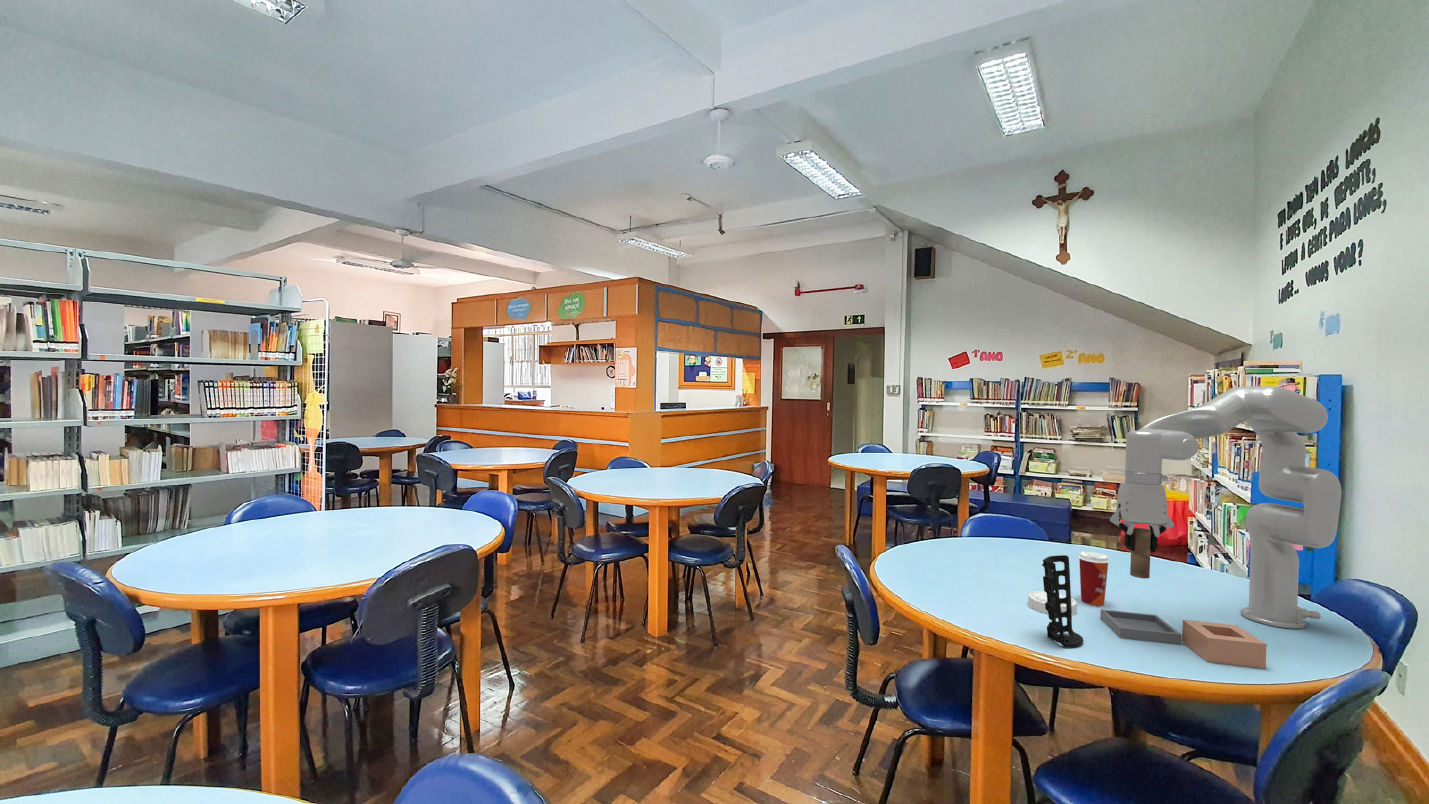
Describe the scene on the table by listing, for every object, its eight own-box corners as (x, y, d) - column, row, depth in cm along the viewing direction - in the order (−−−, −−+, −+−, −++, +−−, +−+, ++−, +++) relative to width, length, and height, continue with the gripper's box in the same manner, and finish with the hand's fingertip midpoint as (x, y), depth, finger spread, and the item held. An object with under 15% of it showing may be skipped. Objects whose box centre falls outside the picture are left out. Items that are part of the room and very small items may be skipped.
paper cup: (1107, 609, 163) (1108, 560, 163) (1075, 603, 168) (1076, 555, 168) (1109, 601, 169) (1110, 554, 169) (1078, 595, 174) (1079, 549, 174)
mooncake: (1081, 620, 156) (1082, 606, 156) (1031, 613, 160) (1032, 600, 160) (1071, 604, 167) (1071, 592, 167) (1024, 599, 171) (1024, 587, 171)
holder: (1083, 651, 135) (1076, 565, 136) (1046, 646, 139) (1039, 562, 140) (1083, 635, 144) (1076, 554, 145) (1048, 631, 148) (1041, 553, 149)
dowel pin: (1145, 574, 149) (1146, 528, 149) (1152, 579, 146) (1154, 531, 145) (1127, 572, 151) (1128, 527, 150) (1134, 577, 147) (1135, 530, 146)
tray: (1156, 624, 153) (1156, 615, 153) (1181, 644, 140) (1181, 634, 140) (1100, 618, 156) (1100, 609, 156) (1119, 637, 144) (1120, 627, 144)
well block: (1235, 647, 139) (1236, 625, 139) (1265, 668, 128) (1266, 644, 128) (1182, 641, 142) (1182, 619, 142) (1206, 661, 131) (1207, 637, 131)
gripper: (1173, 479, 149) (1171, 549, 149) (1100, 475, 154) (1097, 543, 154) (1189, 483, 142) (1186, 557, 142) (1111, 479, 146) (1108, 551, 147)
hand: (1140, 549), depth 148 cm, fingers closed on dowel pin, 4 cm apart
